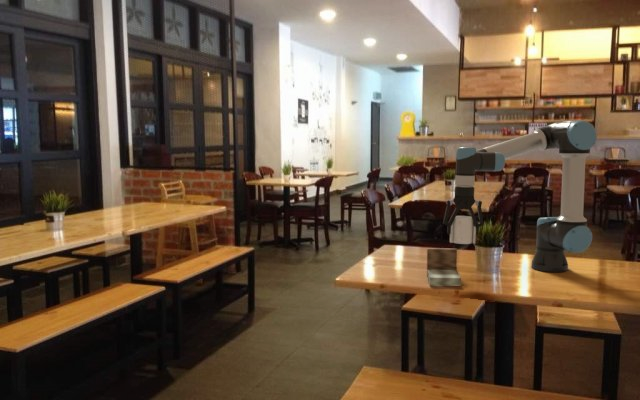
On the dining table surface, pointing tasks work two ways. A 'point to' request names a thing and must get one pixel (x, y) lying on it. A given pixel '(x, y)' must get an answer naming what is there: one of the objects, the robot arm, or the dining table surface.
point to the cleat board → (442, 267)
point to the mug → (462, 230)
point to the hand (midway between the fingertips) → (462, 242)
